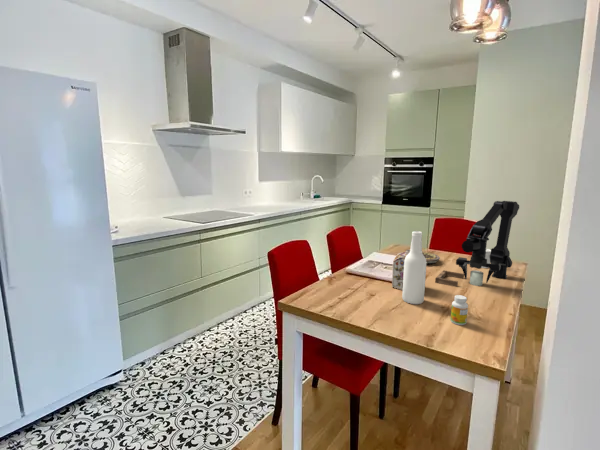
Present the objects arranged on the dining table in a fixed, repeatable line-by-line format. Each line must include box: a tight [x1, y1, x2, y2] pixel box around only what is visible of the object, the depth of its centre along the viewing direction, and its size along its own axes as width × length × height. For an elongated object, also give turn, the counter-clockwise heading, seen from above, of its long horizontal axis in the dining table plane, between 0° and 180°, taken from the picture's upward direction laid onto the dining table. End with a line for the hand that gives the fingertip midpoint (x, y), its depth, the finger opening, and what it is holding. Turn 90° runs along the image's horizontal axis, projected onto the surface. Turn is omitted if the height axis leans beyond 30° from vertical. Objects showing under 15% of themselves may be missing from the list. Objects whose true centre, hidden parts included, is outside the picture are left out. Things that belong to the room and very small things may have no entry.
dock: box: [434, 270, 465, 288], centre depth 169 cm, size 16×10×2 cm, turn 144°
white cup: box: [481, 248, 491, 269], centre depth 193 cm, size 8×8×10 cm
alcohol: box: [401, 230, 427, 305], centre depth 141 cm, size 9×9×30 cm
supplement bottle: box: [450, 294, 469, 326], centre depth 123 cm, size 5×5×10 cm
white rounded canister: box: [469, 269, 485, 287], centre depth 164 cm, size 6×6×6 cm
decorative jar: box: [391, 249, 427, 291], centre depth 158 cm, size 12×12×18 cm
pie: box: [422, 251, 441, 266], centre depth 204 cm, size 28×27×5 cm
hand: (476, 280), depth 164 cm, fingers open, 9 cm apart
